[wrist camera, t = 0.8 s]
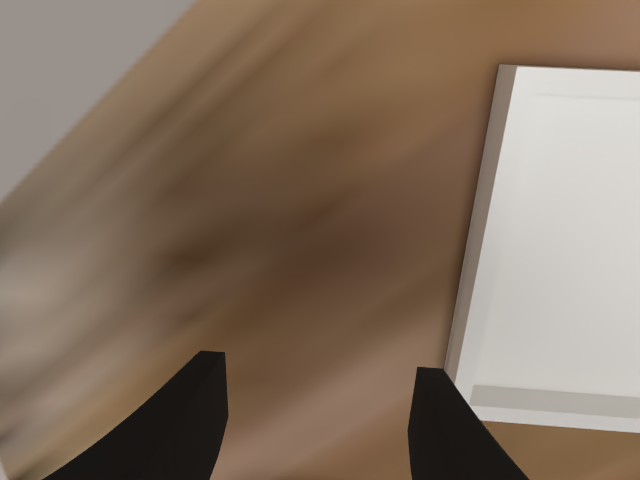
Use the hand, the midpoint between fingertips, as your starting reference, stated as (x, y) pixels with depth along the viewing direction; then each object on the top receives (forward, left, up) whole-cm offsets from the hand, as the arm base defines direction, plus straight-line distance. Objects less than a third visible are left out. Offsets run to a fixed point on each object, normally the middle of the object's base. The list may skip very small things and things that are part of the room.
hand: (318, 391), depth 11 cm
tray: (-4, -11, -9) cm, 15 cm away
